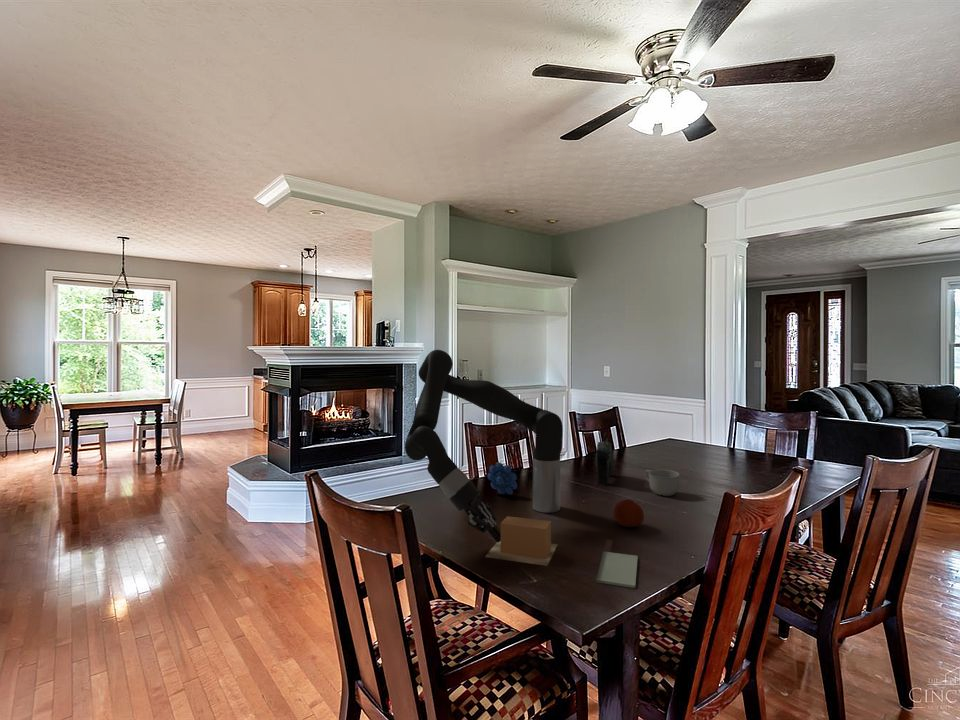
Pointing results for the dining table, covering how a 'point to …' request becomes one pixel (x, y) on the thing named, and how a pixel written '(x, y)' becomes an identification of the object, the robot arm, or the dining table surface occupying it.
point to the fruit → (628, 513)
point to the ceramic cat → (604, 461)
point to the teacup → (663, 481)
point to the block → (526, 537)
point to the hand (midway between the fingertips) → (501, 539)
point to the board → (497, 554)
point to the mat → (617, 569)
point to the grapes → (502, 478)
